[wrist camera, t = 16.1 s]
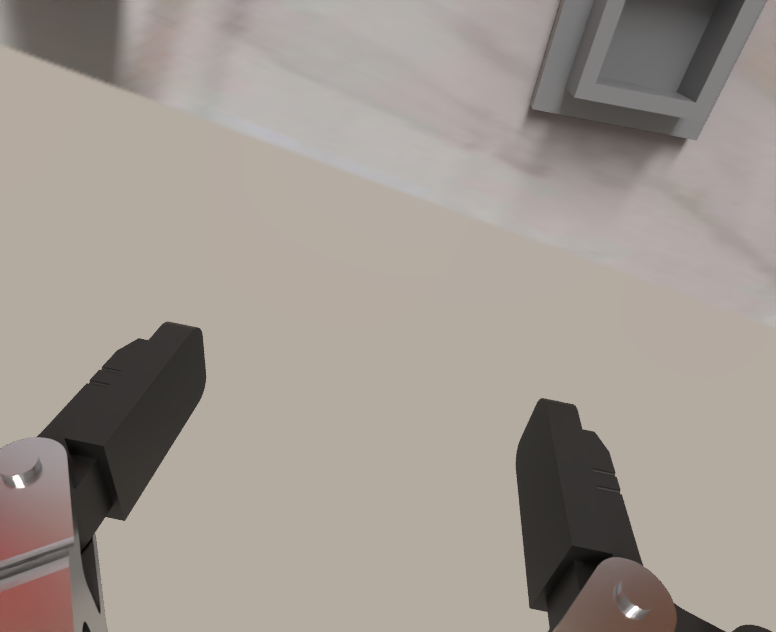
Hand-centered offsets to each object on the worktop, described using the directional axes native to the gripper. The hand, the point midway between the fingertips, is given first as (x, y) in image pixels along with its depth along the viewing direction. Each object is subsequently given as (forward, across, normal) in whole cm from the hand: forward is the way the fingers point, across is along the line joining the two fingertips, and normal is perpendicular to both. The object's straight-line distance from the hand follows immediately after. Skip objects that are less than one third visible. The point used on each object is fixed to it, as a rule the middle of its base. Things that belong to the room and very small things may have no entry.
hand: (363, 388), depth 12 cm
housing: (+32, -13, -7) cm, 35 cm away
